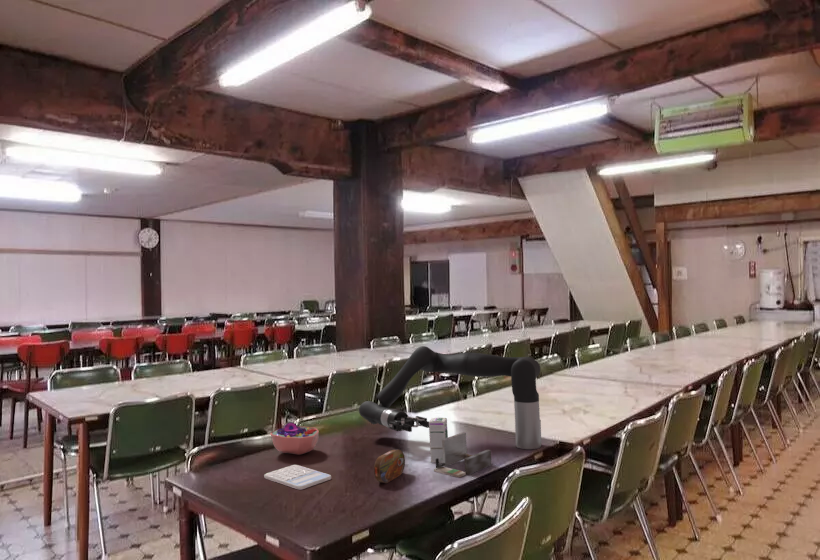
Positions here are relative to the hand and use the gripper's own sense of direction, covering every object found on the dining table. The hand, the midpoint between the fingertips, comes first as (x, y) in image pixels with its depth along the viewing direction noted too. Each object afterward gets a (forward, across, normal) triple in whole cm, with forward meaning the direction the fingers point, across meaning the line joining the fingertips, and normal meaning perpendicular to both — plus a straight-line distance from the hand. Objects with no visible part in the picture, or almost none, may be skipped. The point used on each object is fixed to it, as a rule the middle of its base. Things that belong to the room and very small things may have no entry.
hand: (420, 427), depth 210 cm
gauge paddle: (+18, -1, +9) cm, 20 cm away
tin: (+14, -24, +10) cm, 29 cm away
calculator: (-8, -46, +11) cm, 48 cm away
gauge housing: (+22, +1, +10) cm, 24 cm away
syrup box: (+10, 0, +10) cm, 15 cm away
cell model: (-34, -33, +11) cm, 49 cm away
